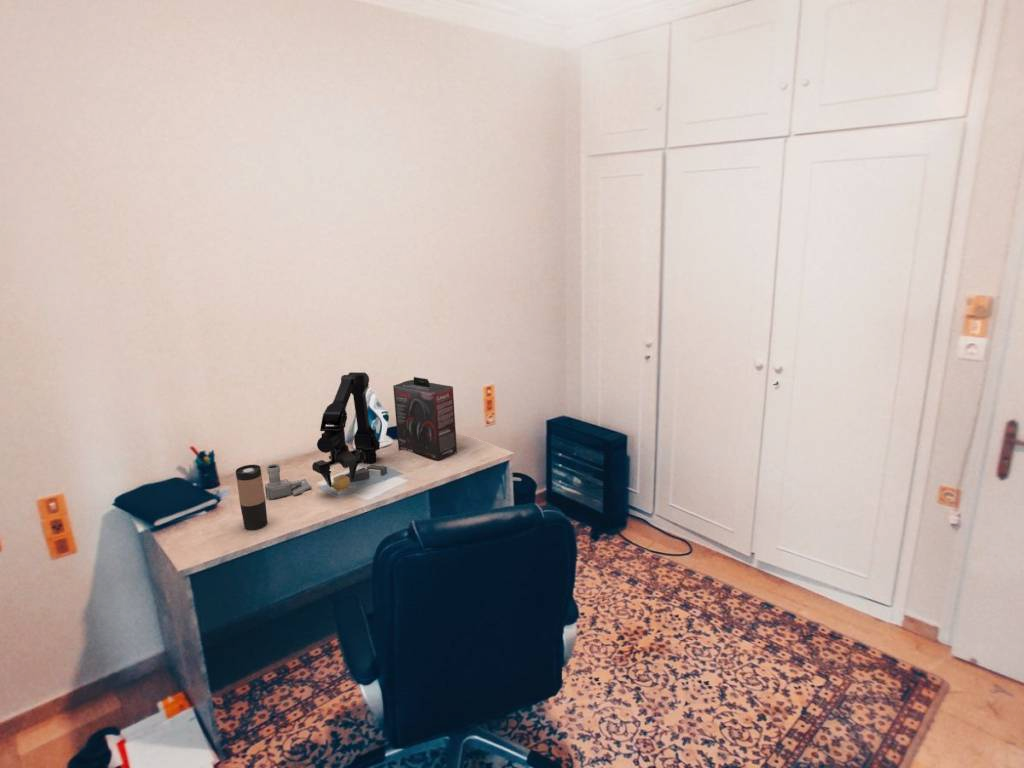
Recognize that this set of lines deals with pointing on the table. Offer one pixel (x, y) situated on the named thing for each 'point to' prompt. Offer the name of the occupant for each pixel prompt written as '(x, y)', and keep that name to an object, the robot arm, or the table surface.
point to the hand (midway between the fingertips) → (341, 482)
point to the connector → (341, 482)
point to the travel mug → (251, 497)
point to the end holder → (340, 492)
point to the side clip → (359, 470)
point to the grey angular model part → (282, 484)
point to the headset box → (425, 418)
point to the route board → (376, 477)
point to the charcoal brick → (360, 475)
